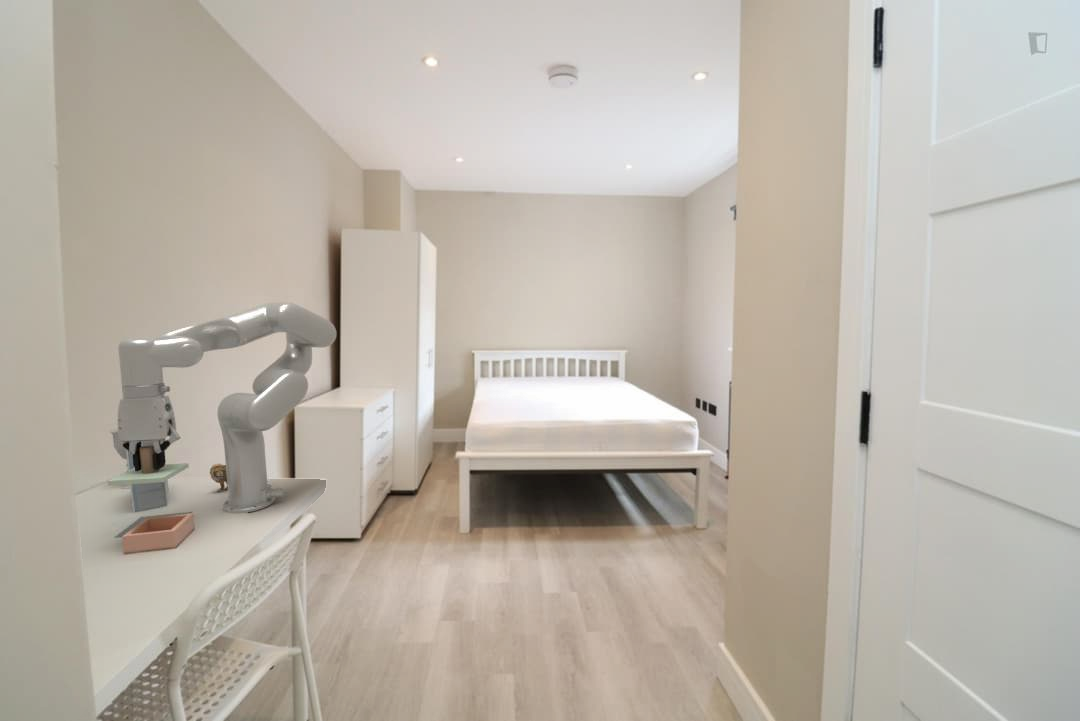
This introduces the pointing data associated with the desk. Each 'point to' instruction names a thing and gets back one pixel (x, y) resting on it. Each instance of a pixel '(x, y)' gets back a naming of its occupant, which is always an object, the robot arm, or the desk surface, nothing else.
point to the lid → (148, 470)
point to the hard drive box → (147, 490)
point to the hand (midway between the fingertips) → (150, 468)
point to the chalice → (120, 453)
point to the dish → (158, 533)
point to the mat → (141, 521)
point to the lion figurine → (219, 474)
